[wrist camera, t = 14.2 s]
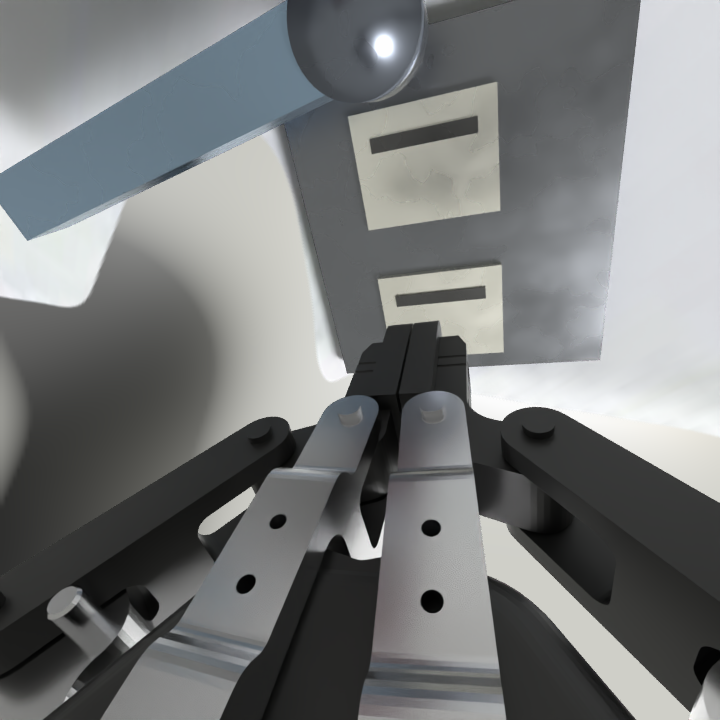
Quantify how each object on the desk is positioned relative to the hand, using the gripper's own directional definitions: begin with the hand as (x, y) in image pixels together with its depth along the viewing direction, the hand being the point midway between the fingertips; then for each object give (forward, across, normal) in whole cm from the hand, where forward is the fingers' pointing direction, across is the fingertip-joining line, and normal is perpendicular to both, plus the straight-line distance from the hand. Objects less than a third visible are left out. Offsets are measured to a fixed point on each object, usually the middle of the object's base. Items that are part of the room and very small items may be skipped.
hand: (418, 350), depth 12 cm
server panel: (+14, -1, 0) cm, 14 cm away
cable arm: (+7, +8, -8) cm, 14 cm away
